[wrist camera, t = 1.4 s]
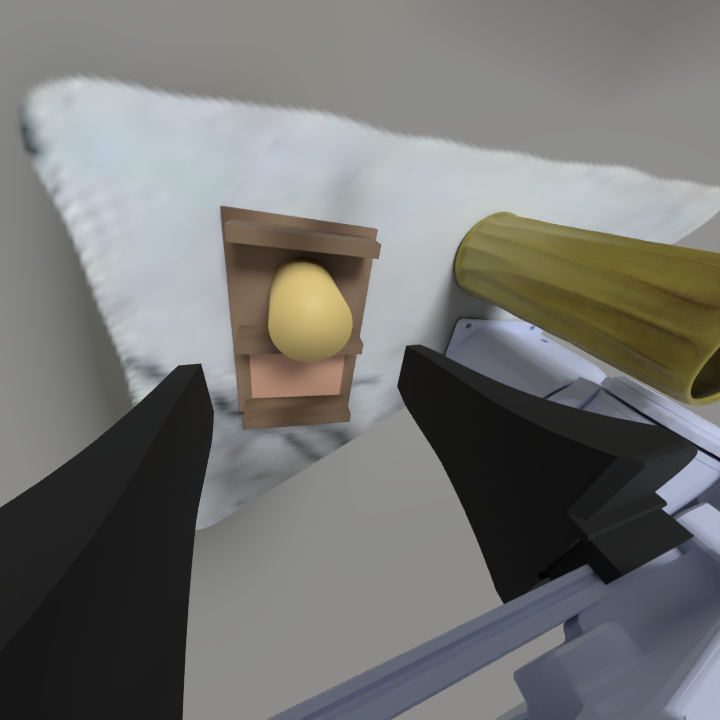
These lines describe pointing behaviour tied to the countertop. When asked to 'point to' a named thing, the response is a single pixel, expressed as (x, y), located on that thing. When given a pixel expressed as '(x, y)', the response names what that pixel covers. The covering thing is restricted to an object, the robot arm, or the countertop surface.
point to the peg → (307, 311)
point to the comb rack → (251, 314)
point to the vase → (605, 297)
